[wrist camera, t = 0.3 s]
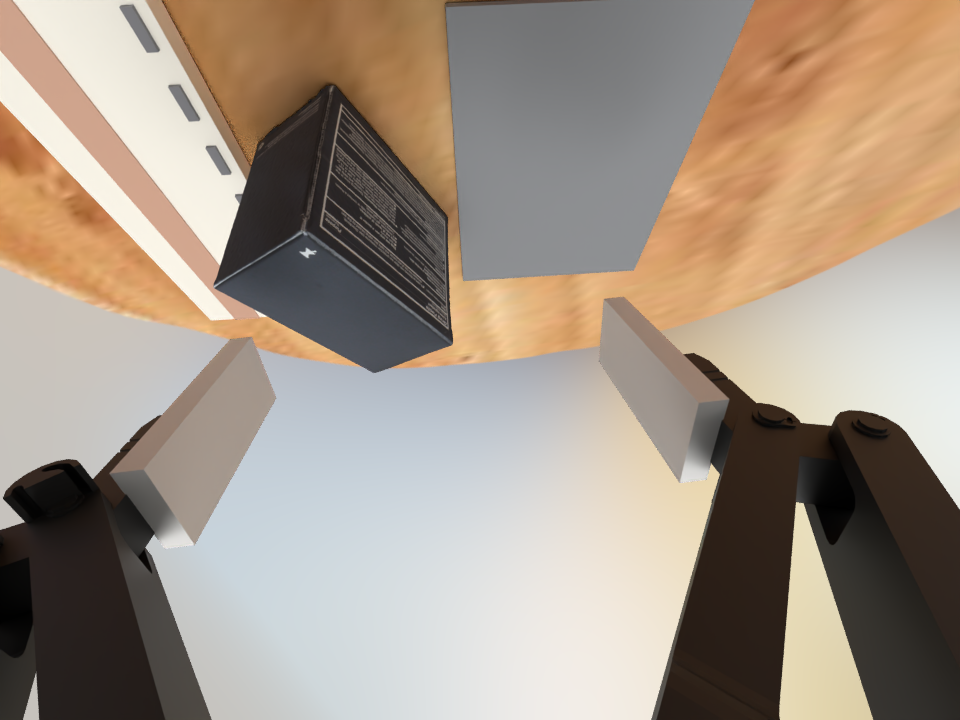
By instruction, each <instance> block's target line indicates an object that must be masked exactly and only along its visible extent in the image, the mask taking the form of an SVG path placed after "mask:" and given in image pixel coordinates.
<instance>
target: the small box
mask: <svg viewBox="0 0 960 720" xmlns="http://www.w3.org/2000/svg"><path fill="white" fill-rule="evenodd" d="M448 266H449V264H448V217H447V216H446V215H445V213H444V212H443V211H442V210H441V209H440V208H439V206H438V205H437V204H436V203H435V201H434V200H433V199H432V198H431V197H430V196H429V195H428V193H427V192H426V191H425V190H424V189H423V187H422V186H421V185H420V184H419V182H417V181H416V179H415V178H414V177H413V176H412V175H411V173H410V172H409V171H408V170H407V169H406V168H405V167H404V165H403V164H402V163H401V162H400V161H399V159H398V158H397V157H396V156H395V155H394V154H393V152H392V151H391V150H390V149H389V148H388V147H387V145H386V144H385V143H384V142H383V141H382V140H381V138H380V137H379V136H378V135H377V134H376V133H375V131H374V130H373V129H372V128H371V127H370V126H369V124H368V123H367V122H366V121H365V120H364V119H363V117H362V116H361V115H360V114H359V113H358V112H357V111H356V109H355V108H354V107H353V106H352V105H351V104H350V102H349V101H348V100H347V99H346V98H345V97H344V96H343V95H342V93H341V92H340V91H339V90H338V88H337V87H336V86H333V85H329V86H326V87H325V88H324V89H322V90H321V91H320V92H319V93H318V95H317V96H316V97H315V98H314V99H312V100H309V102H308V104H306V105H305V106H304V107H303V108H301V109H300V110H298V111H297V112H296V114H294V115H293V116H292V117H290V118H288V119H286V121H285V122H284V123H283V124H281V125H280V126H279V127H275V128H274V129H273V130H272V131H271V132H270V133H269V134H267V136H266V137H265V138H264V139H263V140H262V141H261V142H259V143H258V145H257V149H256V153H255V156H254V159H253V162H252V166H251V169H250V172H249V176H248V179H247V182H246V185H245V188H244V191H243V195H242V198H241V202H240V205H239V207H238V211H237V214H236V217H235V220H234V223H233V227H232V229H231V233H230V236H229V239H228V242H227V245H226V248H225V251H224V255H223V258H222V262H221V265H220V268H219V271H218V274H217V277H216V280H215V282H214V285H213V288H214V289H216V290H218V291H220V292H222V293H224V294H226V295H227V296H230V297H231V298H233V299H235V300H237V301H239V302H241V303H243V304H245V305H246V306H248V307H250V308H252V309H254V310H256V311H258V312H260V313H262V314H264V315H266V316H267V317H269V318H271V319H273V320H275V321H277V322H279V323H281V324H283V325H284V326H286V327H288V328H290V329H292V330H294V331H296V332H298V333H300V334H302V335H303V336H305V337H307V338H309V339H311V340H313V341H315V342H317V343H319V344H320V345H322V346H324V347H326V348H328V349H330V350H332V351H334V352H336V353H337V354H339V355H341V356H343V357H345V358H347V359H349V360H351V361H352V362H354V363H356V364H358V365H360V366H362V367H364V368H366V369H367V370H369V371H371V372H373V373H376V372H379V371H382V370H385V369H388V368H391V367H394V366H396V365H399V364H402V363H404V362H407V361H409V360H412V359H415V358H417V357H420V356H423V355H425V354H428V353H431V352H434V351H437V350H439V349H442V348H445V347H448V346H451V345H452V344H453V334H452V329H451V317H450V301H449V298H450V295H449V289H450V288H449V267H448Z"/></svg>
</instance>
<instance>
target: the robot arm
mask: <svg viewBox="0 0 960 720" xmlns="http://www.w3.org/2000/svg"><path fill="white" fill-rule="evenodd" d="M599 362H600V364H601V365H602V367H603V368H604V370H605V371H606V373H607V374H608V376H609V377H610V379H611V380H612V382H613V383H614V385H615V386H616V388H617V389H618V391H619V392H620V394H621V395H622V397H623V398H624V400H625V401H626V403H627V404H628V406H629V407H630V409H631V410H632V412H633V413H634V415H635V416H636V418H637V419H638V421H639V422H640V424H641V425H642V427H643V428H644V430H645V432H646V433H647V434H648V436H649V437H650V439H651V440H652V442H653V444H654V445H655V446H656V448H657V450H658V451H659V453H660V454H661V455H662V457H663V459H664V460H665V462H666V463H667V465H668V466H669V468H670V469H671V471H672V472H673V474H674V475H675V477H676V478H677V479H678V481H679V483H683V482H691V481H699V480H706V479H707V476H708V473H709V469H710V465H711V463H712V465H713V466H714V467H715V469H716V470H717V471H718V472H719V473H720V476H719V479H718V483H717V486H716V490H715V492H714V496H713V499H712V504H711V508H710V511H709V515H708V519H707V522H706V526H705V529H704V533H703V536H702V540H701V544H700V547H699V551H698V555H697V558H696V562H695V565H694V570H693V572H692V576H691V579H690V583H689V587H688V590H687V594H686V597H685V601H684V605H683V608H682V612H681V615H680V619H679V623H678V626H677V630H676V634H675V637H674V640H673V644H672V648H671V651H670V655H669V659H668V662H667V666H666V669H665V673H664V676H663V680H662V684H661V687H660V691H659V694H658V698H657V701H656V705H655V709H654V712H653V716H652V719H651V720H780V718H779V704H780V691H781V679H782V667H783V666H782V665H783V655H784V641H785V630H786V617H787V605H788V592H789V580H790V568H791V556H792V543H793V530H794V519H795V505H796V502H799V503H804V506H805V509H806V512H807V515H808V518H809V521H810V524H811V527H812V530H813V533H814V536H815V540H816V543H817V546H818V549H819V552H820V555H821V558H822V562H823V564H824V568H825V571H826V574H827V577H828V580H829V583H830V586H831V589H832V592H833V595H834V599H835V602H836V605H837V608H838V611H839V614H840V617H841V621H842V624H843V626H844V630H845V632H846V636H847V639H848V642H849V645H850V648H851V652H852V655H853V658H854V661H855V664H856V667H857V670H858V673H859V676H860V679H861V683H862V686H863V689H864V692H865V695H866V698H867V701H868V704H869V707H870V710H871V714H872V717H873V720H960V509H959V508H958V507H957V505H956V504H955V502H954V501H953V499H952V498H951V497H950V495H949V494H948V492H947V491H946V489H945V488H944V486H943V485H942V483H941V482H940V481H939V479H938V478H937V476H936V475H935V473H934V472H933V470H932V469H931V467H930V466H929V465H928V463H927V462H926V460H925V459H924V457H923V456H922V454H921V453H920V452H919V450H918V449H917V447H916V446H915V445H914V443H913V441H912V440H911V439H910V437H909V436H908V434H907V433H906V432H905V431H904V430H903V429H902V428H901V427H900V426H899V425H897V424H896V423H894V422H892V421H890V420H889V419H887V418H885V417H883V416H879V415H877V414H874V413H868V412H864V411H852V410H851V411H850V410H849V411H844V412H840V413H839V414H838V415H837V416H836V418H835V420H834V422H833V424H832V426H827V425H815V424H805V423H800V421H799V420H798V419H797V418H796V417H795V416H794V415H793V414H792V413H790V412H788V411H786V410H785V409H782V408H780V407H777V406H774V405H770V404H763V403H756V402H755V401H753V400H752V399H751V398H750V397H749V396H748V395H747V394H745V392H743V391H742V390H741V389H740V388H739V387H738V386H737V385H736V384H734V383H733V382H732V381H731V380H730V379H729V380H728V378H727V376H726V375H724V374H723V373H722V372H720V371H719V369H718V368H716V366H715V365H713V364H712V363H711V362H710V361H709V360H707V359H705V358H703V357H701V356H699V355H696V354H694V353H691V354H682V353H681V352H680V351H679V350H678V349H677V348H676V347H675V346H674V345H673V344H672V343H671V342H670V341H669V340H668V339H667V338H666V337H665V336H664V335H663V334H662V333H661V332H660V331H658V330H657V329H656V328H655V327H654V326H653V325H652V324H651V323H650V322H649V321H648V320H647V319H646V318H645V317H644V316H643V315H642V314H641V313H640V312H639V311H638V310H637V309H636V308H635V307H634V306H633V305H632V304H631V303H630V302H629V301H628V300H626V299H625V298H624V297H617V298H608V299H604V304H603V316H602V328H601V340H600V353H599ZM275 399H276V396H275V394H274V391H273V389H272V386H271V384H270V381H269V379H268V376H267V374H266V371H265V369H264V366H263V364H262V361H261V359H260V357H259V354H258V351H257V349H256V346H255V344H254V341H253V339H252V337H246V338H237V339H230V340H229V341H228V343H227V344H226V345H225V346H224V347H223V348H222V349H221V350H220V352H218V354H217V355H216V356H215V357H214V358H213V359H212V360H211V361H210V362H209V364H208V365H207V366H206V367H205V368H204V369H203V370H202V372H200V374H199V375H198V376H197V377H196V378H195V379H194V380H193V381H192V382H191V384H190V385H189V386H188V387H187V388H186V389H185V390H184V391H183V393H182V394H181V395H180V396H179V397H178V398H177V399H176V400H175V401H174V403H173V404H172V405H171V406H170V407H169V408H168V409H167V410H166V411H165V413H163V415H160V416H157V417H156V418H154V419H153V420H151V421H150V422H148V423H147V424H145V425H144V426H143V427H141V428H140V429H139V430H138V431H137V432H136V434H135V435H134V436H133V437H132V438H131V439H130V442H127V443H126V444H125V445H124V446H123V447H122V449H121V450H120V453H117V454H116V455H115V456H114V457H113V458H112V459H111V460H110V462H109V463H108V464H107V465H106V466H105V467H104V468H103V469H102V470H101V471H100V472H99V473H98V474H97V475H96V476H95V478H94V479H92V478H91V477H90V476H89V474H88V473H87V472H86V470H85V469H84V468H83V466H82V465H81V464H80V463H79V462H78V461H77V460H71V459H66V460H61V461H56V462H53V463H50V464H47V465H44V466H41V467H40V468H37V469H35V470H33V471H32V472H30V473H28V474H26V475H25V476H23V477H22V478H20V479H19V480H18V481H16V482H14V483H13V484H12V485H11V486H10V487H9V488H8V489H7V490H6V492H5V494H4V497H3V499H4V500H5V501H6V502H7V503H8V504H9V505H10V506H11V507H12V509H13V510H14V511H15V512H16V513H17V514H18V515H19V516H20V517H21V518H22V519H23V520H24V521H25V522H24V523H21V524H18V525H15V526H12V527H9V528H6V529H2V530H0V720H23V717H24V714H25V710H26V706H27V703H28V699H29V696H30V692H31V688H32V685H33V681H34V678H35V674H37V690H38V705H39V720H211V717H210V714H209V712H208V709H207V706H206V703H205V700H204V698H203V695H202V692H201V690H200V687H199V684H198V681H197V679H196V676H195V673H194V670H193V668H192V665H191V662H190V659H189V657H188V654H187V651H186V648H185V646H184V643H183V640H182V637H181V635H180V632H179V629H178V627H177V624H176V621H175V618H174V616H173V613H172V610H171V608H170V605H169V602H168V600H167V596H166V594H165V591H164V588H163V586H162V583H161V580H160V577H159V575H158V572H157V569H156V567H155V564H154V561H153V558H152V556H151V554H150V553H149V552H148V551H147V549H146V548H145V547H146V545H147V544H148V543H149V541H150V540H151V538H152V536H153V535H155V536H156V538H157V539H158V540H159V542H160V543H161V544H162V546H163V547H164V548H165V549H167V548H175V547H183V546H191V545H195V543H196V542H197V540H198V538H199V536H200V534H201V533H202V531H203V529H204V527H205V525H206V524H207V522H208V520H209V518H210V516H211V515H212V513H213V511H214V509H215V507H216V505H217V504H218V502H219V500H220V498H221V496H222V495H223V493H224V491H225V489H226V488H227V486H228V484H229V482H230V480H231V479H232V477H233V475H234V473H235V471H236V470H237V468H238V466H239V464H240V462H241V460H242V459H243V457H244V455H245V453H246V451H247V450H248V448H249V446H250V444H251V442H252V441H253V439H254V437H255V435H256V434H257V432H258V430H259V428H260V426H261V425H262V423H263V421H264V419H265V417H266V416H267V414H268V412H269V410H270V408H271V407H272V405H273V403H274V401H275Z"/></svg>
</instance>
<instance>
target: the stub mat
mask: <svg viewBox="0 0 960 720" xmlns="http://www.w3.org/2000/svg"><path fill="white" fill-rule="evenodd" d="M754 1H755V0H510V1H486V2H462V3H445V8H446V24H447V39H448V54H449V70H450V85H451V101H452V116H453V131H454V147H455V162H456V178H457V193H458V209H459V224H460V239H461V255H462V270H463V281H472V280H488V279H504V278H520V277H536V276H552V275H568V274H584V273H601V272H617V271H633V270H634V269H635V267H636V264H637V262H638V260H639V258H640V255H641V253H642V251H643V249H644V247H645V244H646V242H647V240H648V238H649V235H650V233H651V231H652V229H653V226H654V224H655V222H656V220H657V218H658V215H659V213H660V211H661V209H662V206H663V204H664V202H665V200H666V197H667V195H668V193H669V191H670V188H671V186H672V184H673V182H674V180H675V177H676V175H677V173H678V171H679V168H680V166H681V164H682V162H683V159H684V157H685V155H686V153H687V151H688V148H689V146H690V144H691V142H692V139H693V137H694V135H695V133H696V130H697V128H698V126H699V124H700V121H701V119H702V117H703V115H704V113H705V110H706V108H707V106H708V104H709V101H710V99H711V97H712V95H713V92H714V90H715V88H716V86H717V84H718V81H719V79H720V77H721V75H722V72H723V70H724V68H725V66H726V63H727V61H728V59H729V57H730V55H731V52H732V50H733V48H734V46H735V43H736V41H737V39H738V37H739V34H740V32H741V30H742V28H743V25H744V23H745V21H746V19H747V17H748V14H749V12H750V10H751V8H752V5H753V3H754Z"/></svg>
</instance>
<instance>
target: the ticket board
mask: <svg viewBox="0 0 960 720" xmlns="http://www.w3.org/2000/svg"><path fill="white" fill-rule="evenodd" d="M0 101H1V102H2V103H3V104H4V105H5V106H6V108H7V109H8V110H9V111H10V112H11V113H12V114H13V115H14V116H15V117H16V118H17V119H18V120H19V121H20V122H21V123H22V124H23V125H24V126H25V127H26V128H27V129H28V130H29V131H30V132H31V134H32V135H33V136H34V137H35V138H36V139H37V140H38V141H39V142H40V143H41V144H42V145H43V146H44V147H45V148H46V149H47V150H48V151H49V152H50V153H51V154H52V155H53V156H54V157H55V158H56V160H57V161H58V162H59V163H60V164H61V165H62V166H63V167H64V168H65V169H66V170H67V171H68V172H69V173H70V174H71V175H72V176H73V177H74V178H75V179H76V180H77V181H78V182H79V183H80V184H81V186H82V187H83V188H84V189H85V190H86V191H87V192H88V193H89V194H90V195H91V196H92V197H93V198H94V199H95V200H96V201H97V202H98V203H99V204H100V205H101V206H102V207H103V208H104V209H105V211H106V212H107V213H108V214H109V215H110V216H111V217H112V218H113V219H114V220H115V221H116V222H117V223H118V224H119V225H120V226H121V227H122V228H123V229H124V230H125V231H126V232H127V233H128V234H129V235H130V237H131V238H132V239H133V240H134V241H135V242H136V243H137V244H138V245H139V246H140V247H141V248H142V249H143V250H144V251H145V252H146V253H147V254H148V255H149V256H150V257H151V258H152V259H153V260H154V261H155V263H156V264H157V265H158V266H159V267H160V268H161V269H162V270H163V271H164V272H165V273H166V274H167V275H168V276H169V277H170V278H171V279H172V280H173V281H174V282H175V283H176V284H177V285H178V286H179V287H180V289H181V290H182V291H183V292H184V293H185V294H186V295H187V296H188V297H189V298H190V299H191V300H192V301H193V302H194V303H195V304H196V305H197V306H198V307H199V308H200V309H201V310H202V311H203V312H204V313H205V315H206V316H207V317H208V318H209V319H210V320H224V319H235V320H240V319H255V318H260V317H267V316H266V315H264V314H262V313H260V312H258V311H256V310H254V309H252V308H250V307H248V306H246V305H245V304H243V303H241V302H239V301H237V300H235V299H233V298H231V297H230V296H227V295H226V294H224V293H222V292H220V291H218V290H216V289H214V288H213V285H214V282H215V280H216V277H217V274H218V271H219V268H220V265H221V262H222V258H223V255H224V251H225V248H226V245H227V242H228V239H229V236H230V233H231V229H232V227H233V223H234V220H235V217H236V214H237V211H238V207H239V205H240V202H241V198H242V195H243V191H244V188H245V185H246V182H247V179H248V176H249V172H250V169H251V167H250V165H249V163H248V161H247V160H246V158H245V156H244V154H243V152H242V150H241V148H240V146H239V145H238V143H237V141H236V139H235V137H234V135H233V133H232V131H231V130H230V128H229V126H228V124H227V122H226V120H225V118H224V116H223V115H222V113H221V111H220V109H219V107H218V105H217V103H216V102H215V100H214V98H213V96H212V94H211V92H210V90H209V88H208V87H207V85H206V83H205V81H204V79H203V77H202V75H201V73H200V72H199V70H198V68H197V66H196V64H195V62H194V60H193V58H192V57H191V55H190V53H189V51H188V49H187V47H186V45H185V43H184V42H183V40H182V38H181V36H180V34H179V32H178V30H177V29H176V27H175V25H174V23H173V21H172V19H171V17H170V15H169V14H168V12H167V10H166V8H165V6H164V4H163V2H162V0H0Z"/></svg>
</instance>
